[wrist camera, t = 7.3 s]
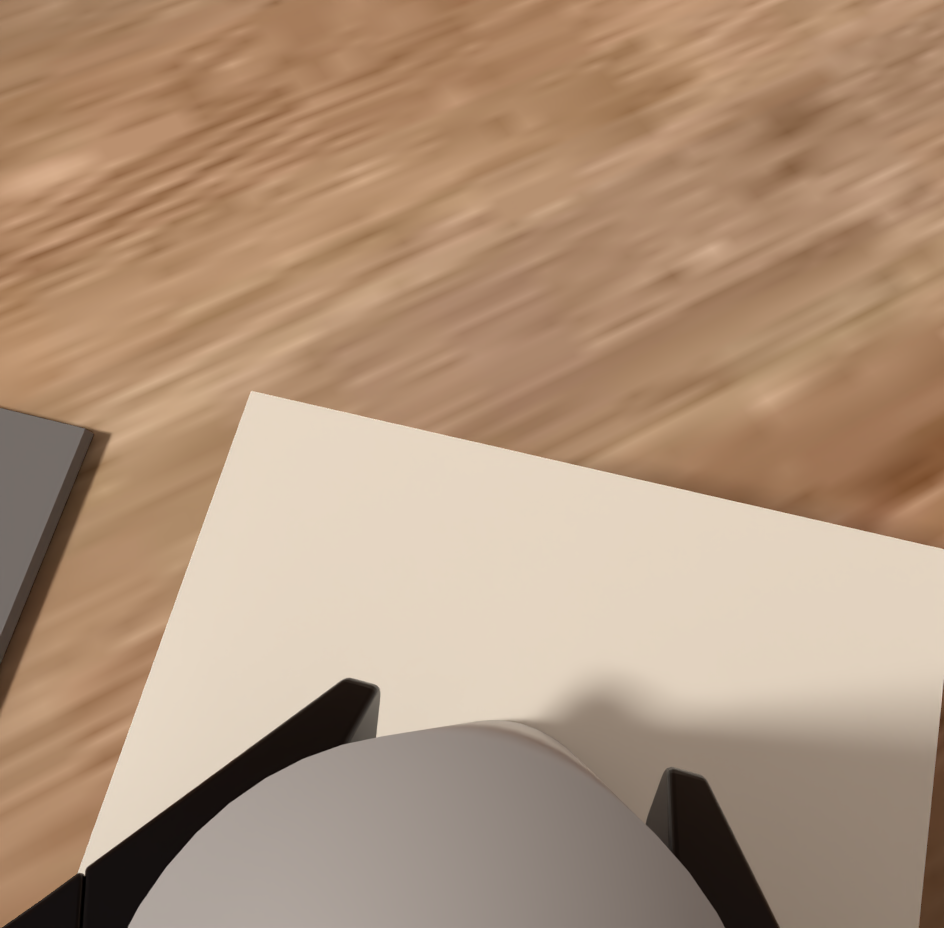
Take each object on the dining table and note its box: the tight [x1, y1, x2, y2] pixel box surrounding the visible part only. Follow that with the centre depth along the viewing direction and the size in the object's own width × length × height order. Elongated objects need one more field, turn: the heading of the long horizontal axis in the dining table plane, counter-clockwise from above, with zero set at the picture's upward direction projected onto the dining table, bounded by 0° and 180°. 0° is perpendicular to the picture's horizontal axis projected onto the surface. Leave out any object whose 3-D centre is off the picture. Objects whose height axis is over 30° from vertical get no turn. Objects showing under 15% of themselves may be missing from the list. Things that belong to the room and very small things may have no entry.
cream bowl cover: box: [78, 391, 944, 928], centre depth 9 cm, size 11×11×12 cm
